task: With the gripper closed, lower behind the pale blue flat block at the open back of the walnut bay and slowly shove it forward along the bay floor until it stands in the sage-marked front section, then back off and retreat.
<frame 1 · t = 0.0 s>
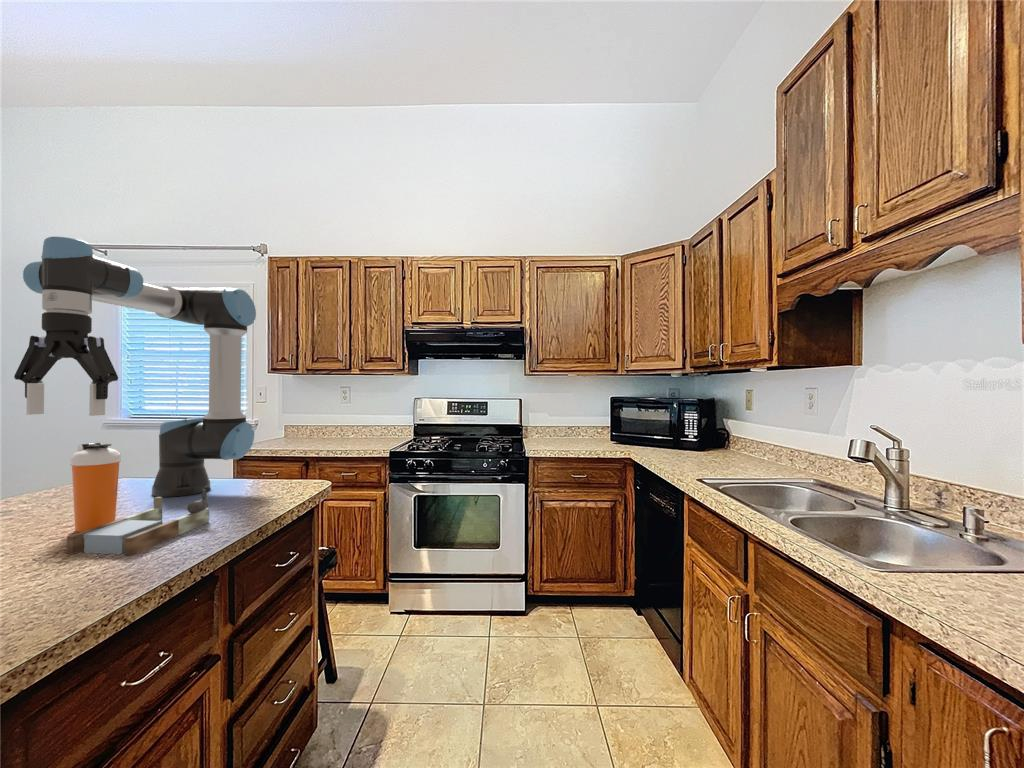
hand: (66, 414, 96), 28 cm above the countertop, fingers open, 13 cm apart
bay: (144, 536, 104), on the countertop
shaker bottle: (95, 528, 109), on the countertop
pale blue flat block: (124, 546, 99), on the countertop
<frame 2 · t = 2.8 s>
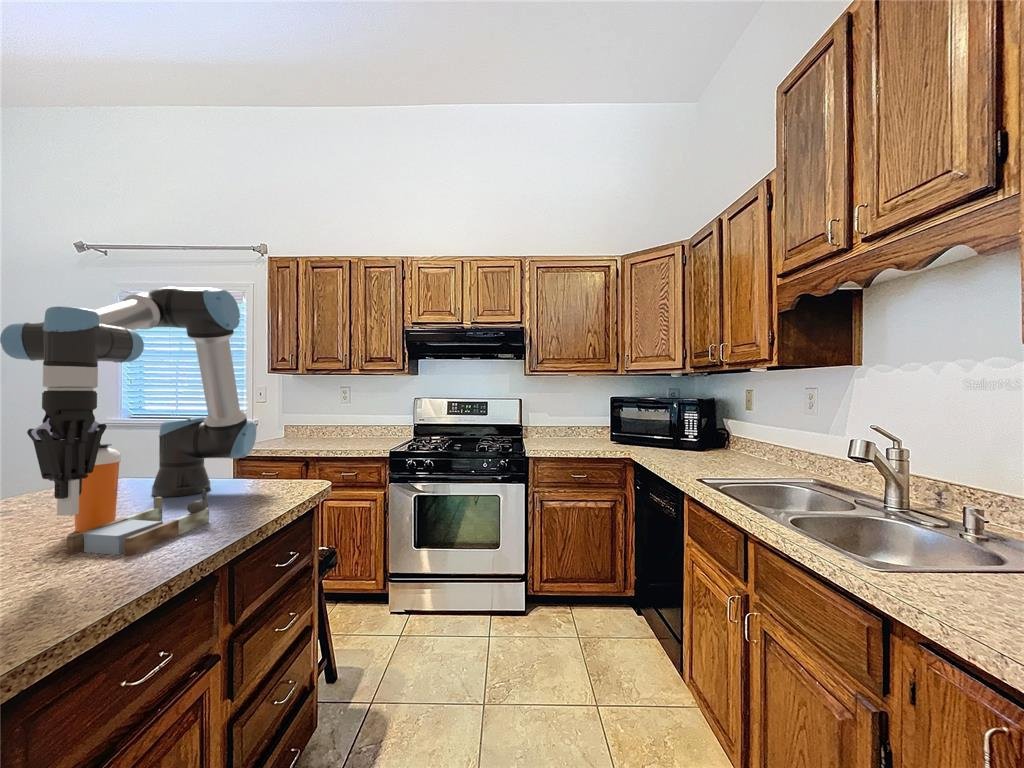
hand: (67, 514, 86), 10 cm above the countertop, fingers closed
nothing on the countertop moved.
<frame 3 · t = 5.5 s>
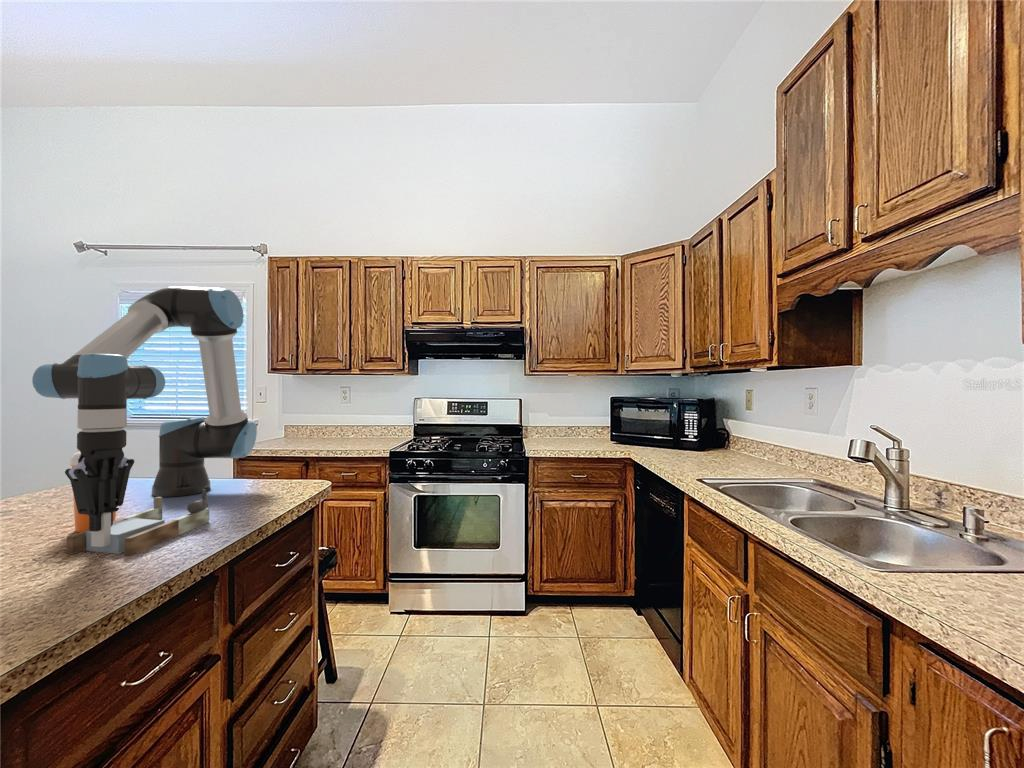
hand: (101, 545, 93), 2 cm above the countertop, fingers closed
pale blue flat block: (126, 544, 99), on the countertop, touching gripper
everything else where it was.
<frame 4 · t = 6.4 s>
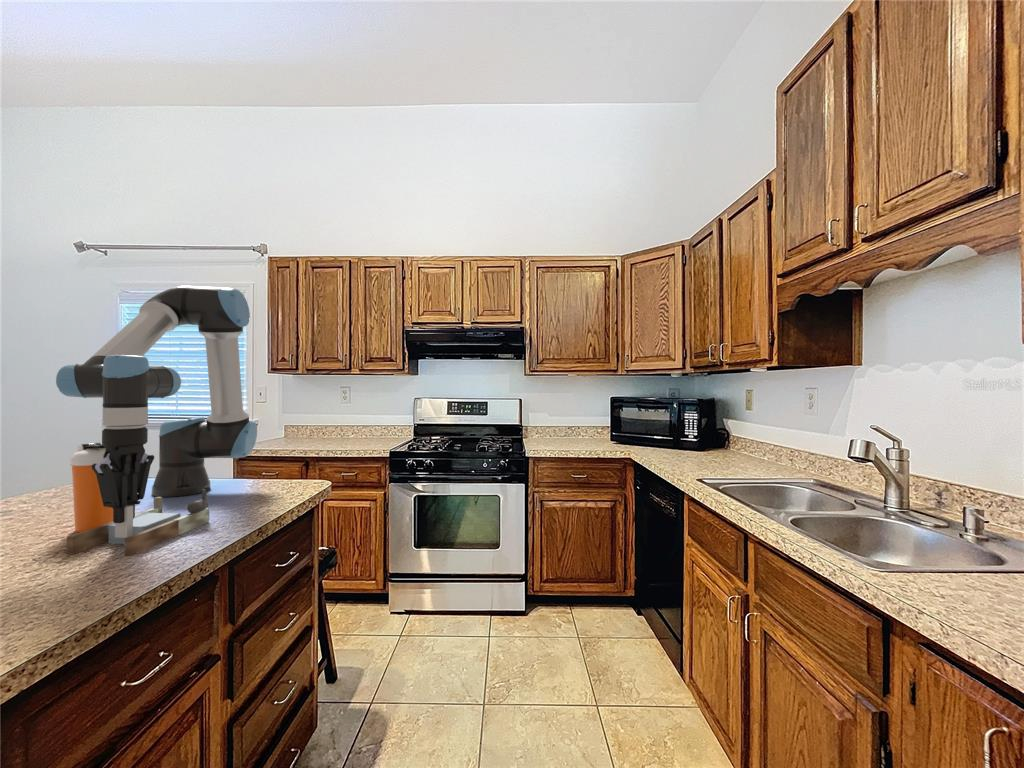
hand: (123, 536, 99), 2 cm above the countertop, fingers closed
pale blue flat block: (145, 536, 104), on the countertop, touching gripper
everything else where it was.
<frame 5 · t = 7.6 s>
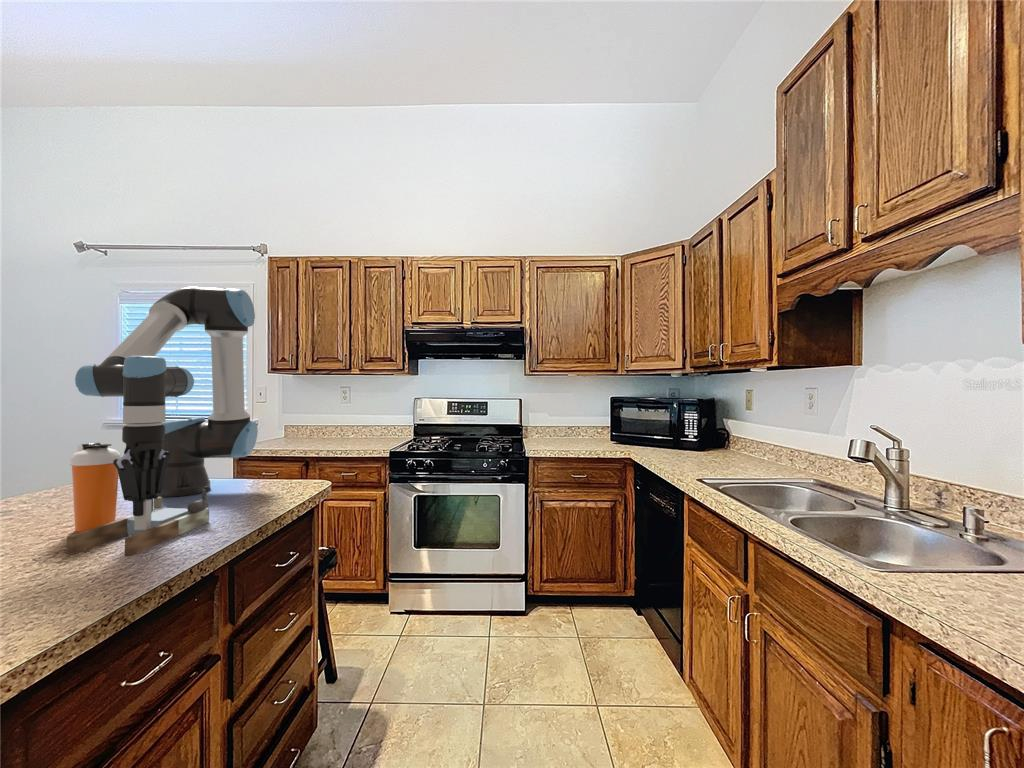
hand: (142, 528, 103), 2 cm above the countertop, fingers closed
pale blue flat block: (162, 530, 109), on the countertop, touching gripper
everything else where it was.
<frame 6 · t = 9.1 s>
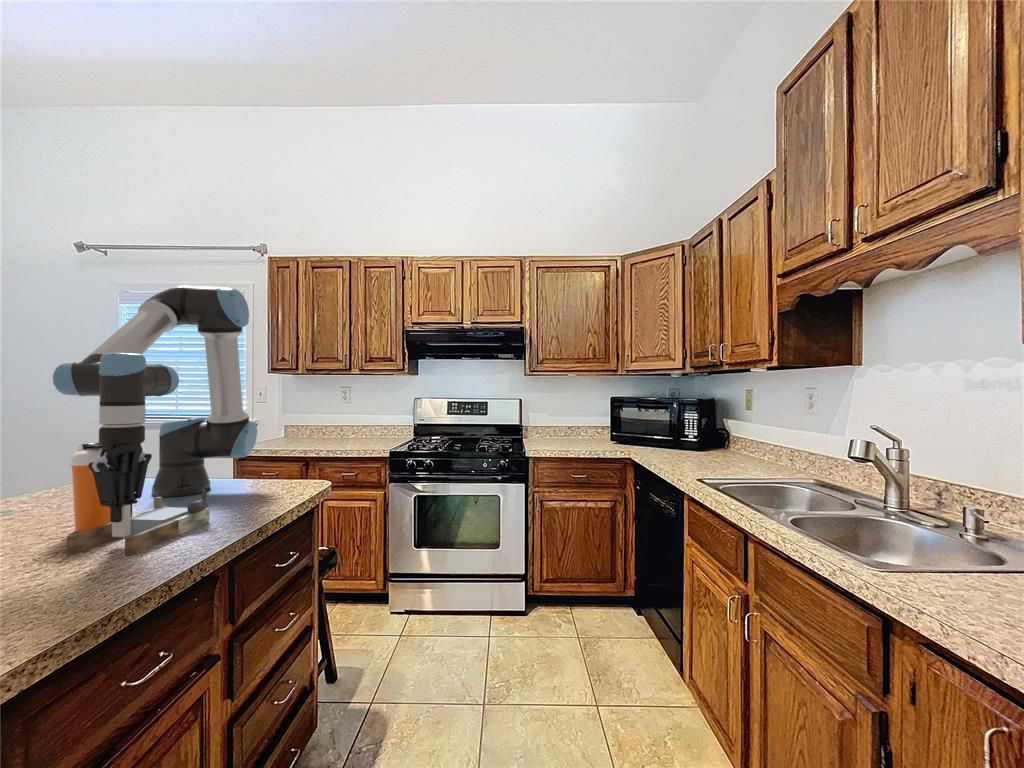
hand: (121, 535, 98), 2 cm above the countertop, fingers closed
pale blue flat block: (164, 530, 109), on the countertop
everything else where it was.
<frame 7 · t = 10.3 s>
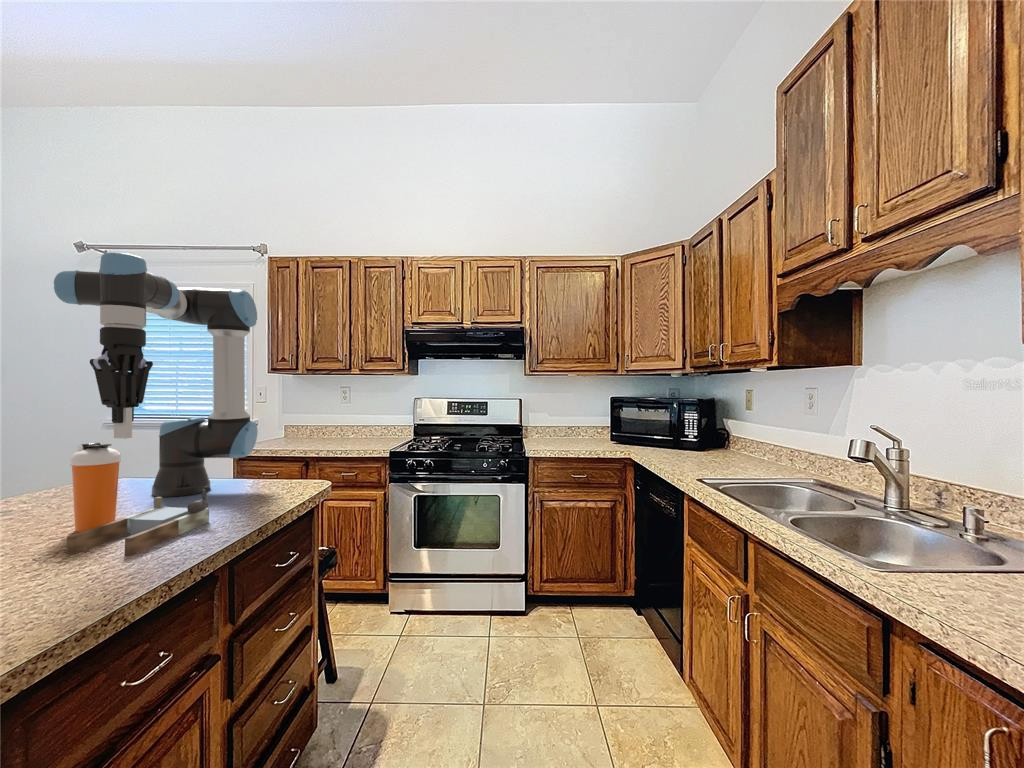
hand: (122, 437, 98), 23 cm above the countertop, fingers closed
nothing on the countertop moved.
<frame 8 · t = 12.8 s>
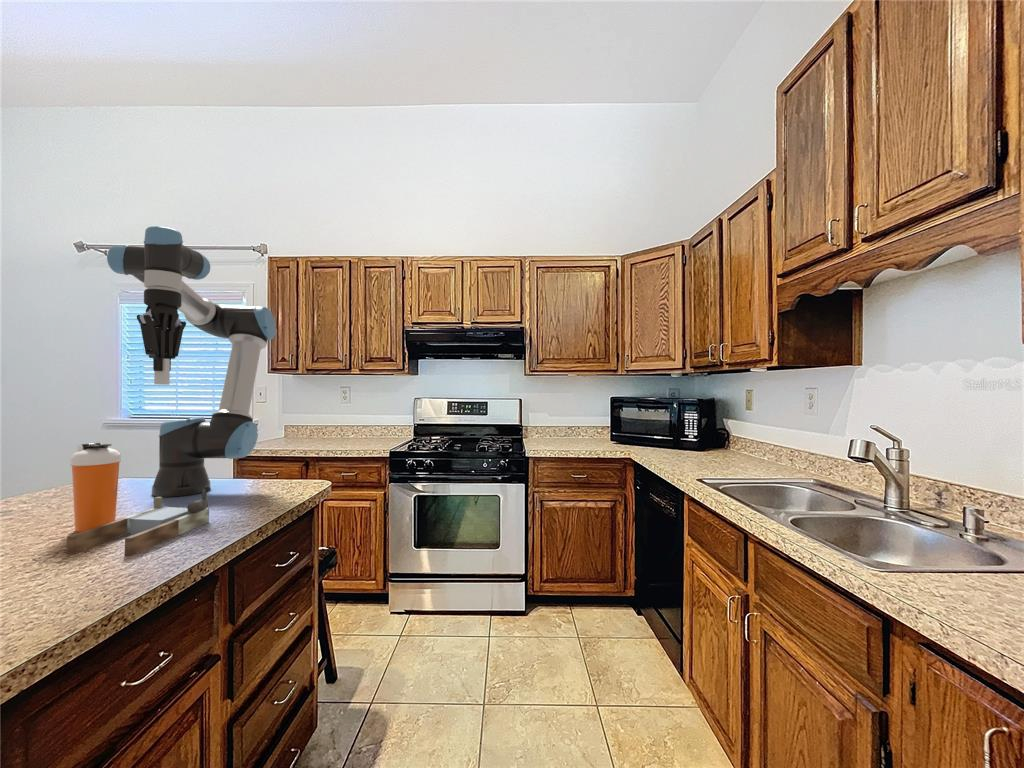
hand: (161, 384, 115), 34 cm above the countertop, fingers closed
nothing on the countertop moved.
at the end: pale blue flat block inside the target area (0.3 cm from its centre), on the countertop; pale blue flat block tilted 0°; pale blue flat block moved 10.8 cm from its start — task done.
